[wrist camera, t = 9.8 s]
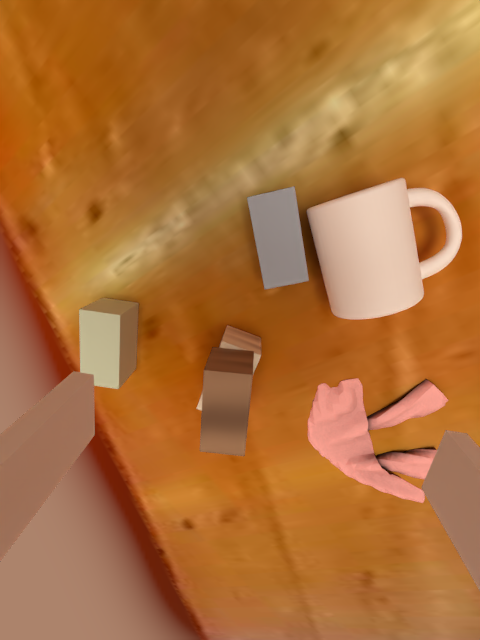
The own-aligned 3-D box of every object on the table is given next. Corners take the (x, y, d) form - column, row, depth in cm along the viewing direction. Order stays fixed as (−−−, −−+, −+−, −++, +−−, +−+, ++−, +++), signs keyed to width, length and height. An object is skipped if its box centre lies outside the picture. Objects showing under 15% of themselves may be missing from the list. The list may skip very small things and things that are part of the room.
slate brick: (248, 200, 32) (246, 197, 27) (289, 191, 31) (294, 186, 27) (264, 279, 34) (264, 289, 29) (301, 272, 34) (308, 280, 29)
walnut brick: (212, 347, 31) (203, 369, 26) (253, 351, 31) (252, 374, 26) (208, 418, 34) (199, 451, 29) (246, 422, 33) (244, 456, 29)
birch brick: (227, 324, 36) (222, 341, 31) (261, 337, 36) (261, 355, 31) (204, 385, 38) (196, 408, 33) (236, 396, 38) (232, 421, 33)
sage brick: (103, 297, 36) (79, 309, 31) (139, 302, 36) (120, 315, 31) (103, 362, 38) (80, 383, 33) (136, 367, 38) (118, 389, 33)
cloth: (293, 373, 38) (295, 383, 35) (494, 342, 35) (510, 351, 33) (316, 509, 43) (319, 526, 41) (490, 491, 41) (504, 507, 39)
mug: (324, 304, 34) (343, 328, 27) (300, 210, 32) (313, 207, 24) (442, 270, 33) (497, 286, 25) (426, 168, 30) (483, 150, 22)
